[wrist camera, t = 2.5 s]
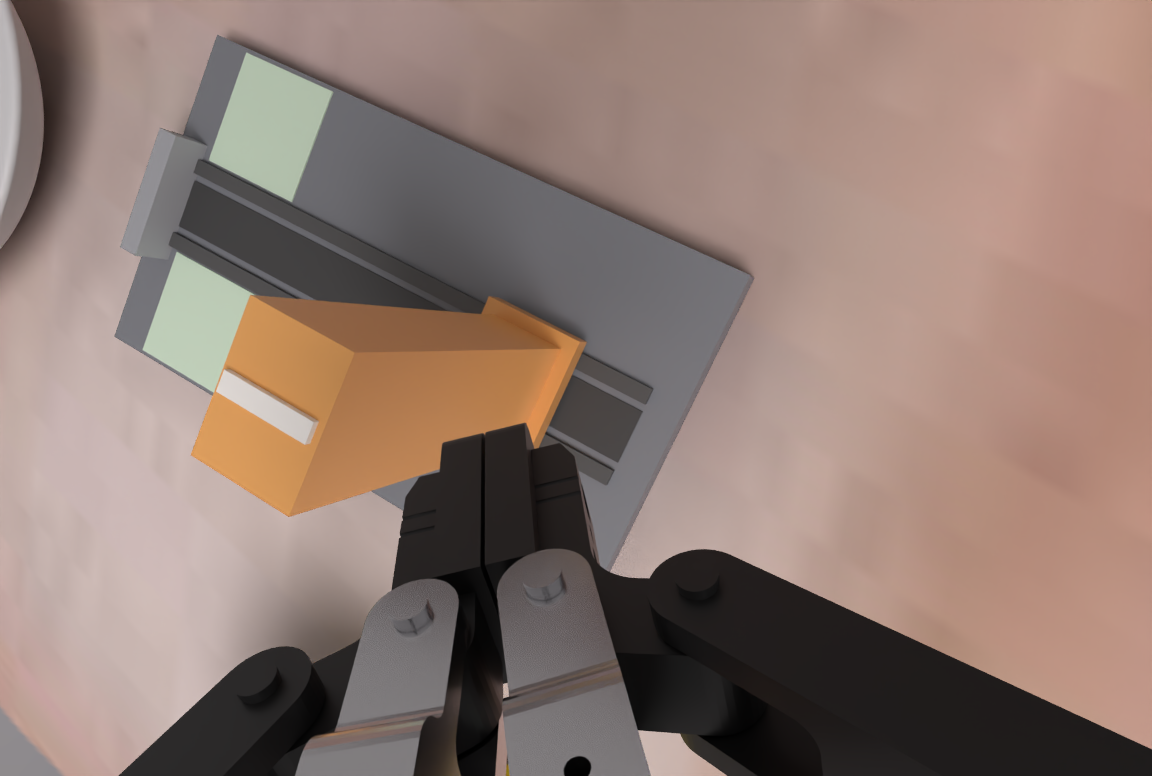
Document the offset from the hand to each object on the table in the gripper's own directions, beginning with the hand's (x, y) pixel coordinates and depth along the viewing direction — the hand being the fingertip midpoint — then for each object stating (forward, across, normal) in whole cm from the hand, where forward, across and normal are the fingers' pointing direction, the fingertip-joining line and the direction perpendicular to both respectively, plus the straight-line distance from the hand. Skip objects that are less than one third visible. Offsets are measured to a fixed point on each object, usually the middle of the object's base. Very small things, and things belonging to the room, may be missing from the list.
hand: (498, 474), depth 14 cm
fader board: (+24, +6, +6) cm, 25 cm away
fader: (+19, +1, +8) cm, 20 cm away
